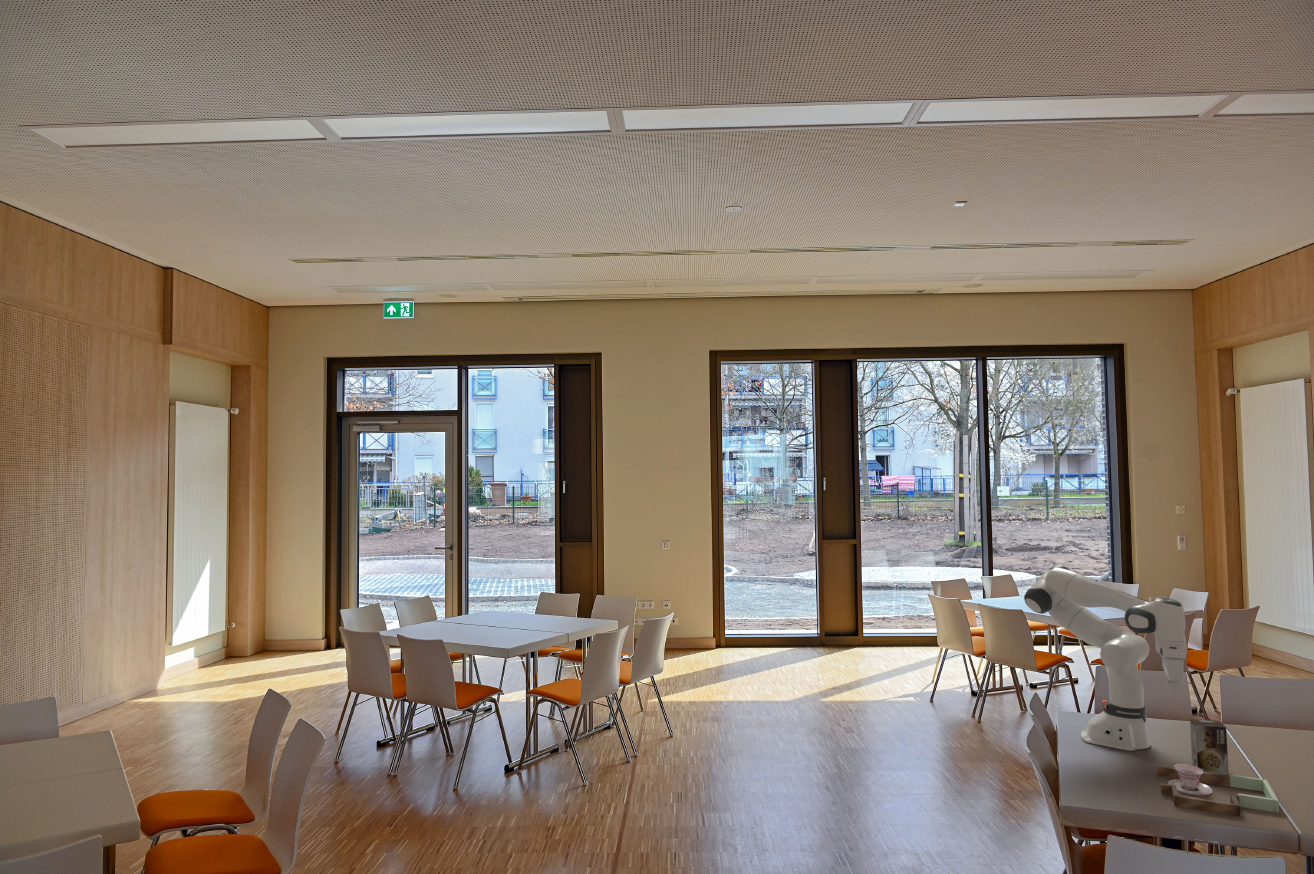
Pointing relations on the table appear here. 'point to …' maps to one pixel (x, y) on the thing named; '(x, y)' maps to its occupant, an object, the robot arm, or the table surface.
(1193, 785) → the teacup
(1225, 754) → the coffee box
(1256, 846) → the table surface
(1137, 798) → the table surface
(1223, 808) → the channel
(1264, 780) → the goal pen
